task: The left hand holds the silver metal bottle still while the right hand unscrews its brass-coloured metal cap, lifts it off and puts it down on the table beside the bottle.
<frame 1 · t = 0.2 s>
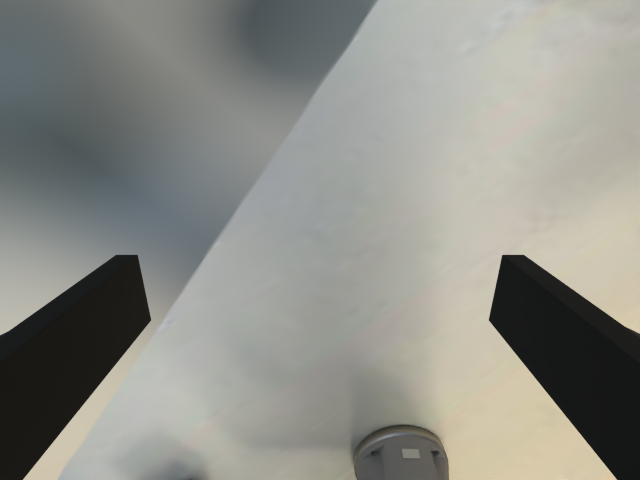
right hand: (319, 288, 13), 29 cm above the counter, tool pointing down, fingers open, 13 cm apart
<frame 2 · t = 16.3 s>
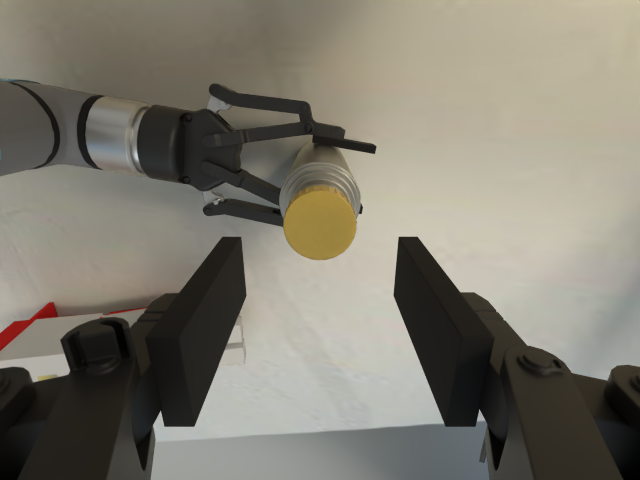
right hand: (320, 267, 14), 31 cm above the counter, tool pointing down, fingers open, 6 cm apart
left hand: (366, 178, 37), fingers closed on bottle, 6 cm apart
bottle: (319, 162, 43), on the counter, touching left hand
cap: (319, 225, 19), point 25 cm above the counter, screwed on, not yet turned
toy: (149, 324, 51), on the counter
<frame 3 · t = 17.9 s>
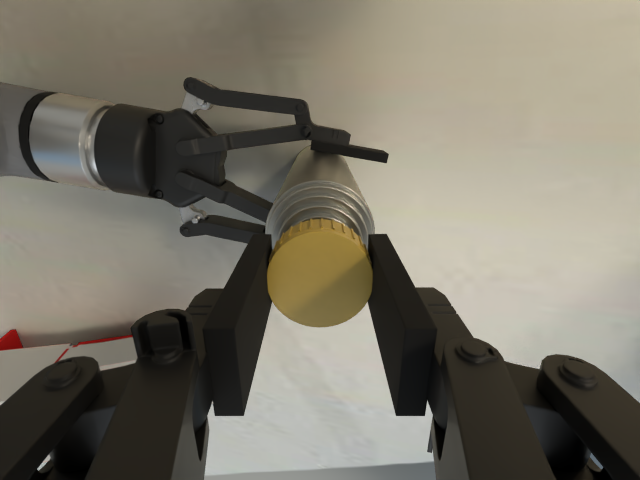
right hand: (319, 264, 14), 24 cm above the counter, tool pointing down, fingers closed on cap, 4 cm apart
left hand: (375, 192, 31), fingers closed on bottle, 6 cm apart
bottle: (320, 171, 37), on the counter, touching left hand
cap: (319, 278, 13), point 25 cm above the counter, screwed on, not yet turned, touching right hand
toy: (126, 353, 45), on the counter
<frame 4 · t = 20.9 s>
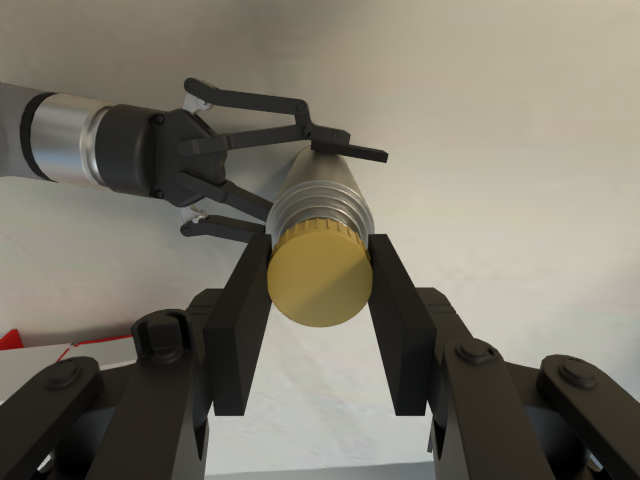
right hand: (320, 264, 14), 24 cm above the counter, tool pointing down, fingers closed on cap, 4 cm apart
left hand: (375, 192, 31), fingers closed on bottle, 6 cm apart
bottle: (320, 171, 37), on the counter, touching left hand
cap: (319, 278, 13), point 25 cm above the counter, turned 77° so far, risen 0.1 cm, still on its thread, touching right hand
toy: (126, 353, 45), on the counter
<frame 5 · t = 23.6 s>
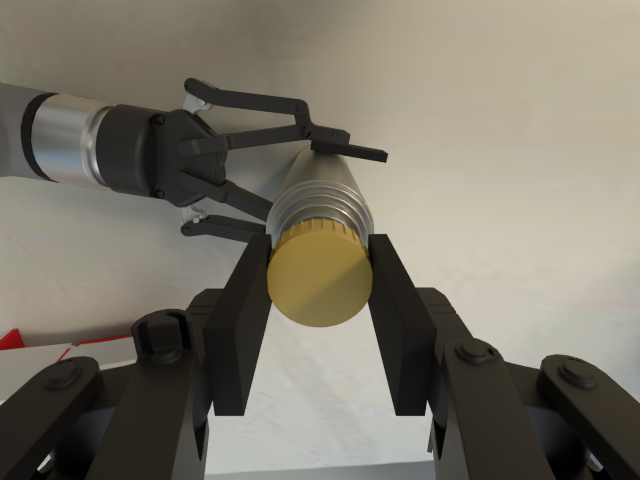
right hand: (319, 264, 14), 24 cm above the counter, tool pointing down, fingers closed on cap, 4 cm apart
left hand: (375, 192, 31), fingers closed on bottle, 6 cm apart
bottle: (319, 170, 37), on the counter, touching left hand
cap: (319, 278, 13), point 25 cm above the counter, turned 154° so far, risen 0.2 cm, still on its thread, touching right hand
toy: (127, 353, 45), on the counter
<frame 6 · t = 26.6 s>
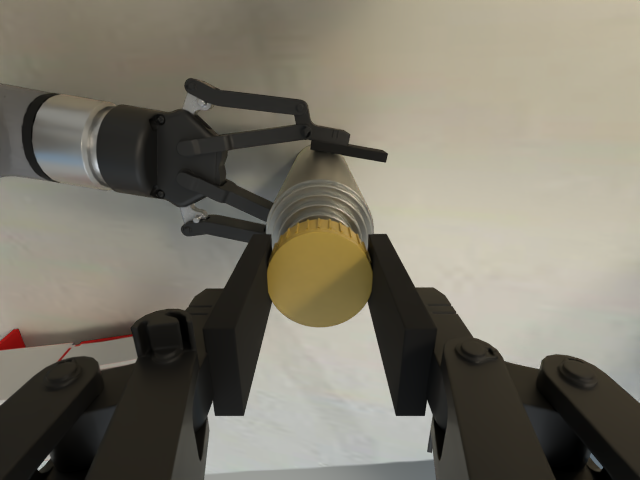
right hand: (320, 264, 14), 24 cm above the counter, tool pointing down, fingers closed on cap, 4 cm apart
left hand: (375, 191, 31), fingers closed on bottle, 6 cm apart
bottle: (319, 170, 37), on the counter, touching left hand
cap: (319, 278, 13), point 25 cm above the counter, turned 231° so far, risen 0.3 cm, still on its thread, touching right hand
toy: (127, 352, 45), on the counter
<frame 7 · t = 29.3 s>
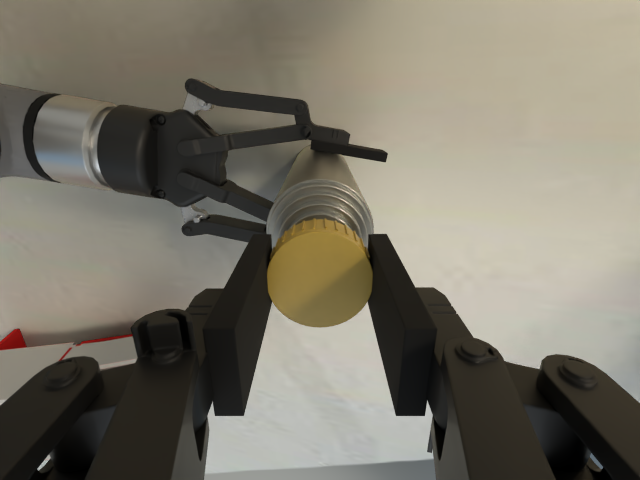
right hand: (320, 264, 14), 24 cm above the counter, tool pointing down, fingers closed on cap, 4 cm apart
left hand: (375, 191, 31), fingers closed on bottle, 6 cm apart
bottle: (320, 170, 37), on the counter, touching left hand
cap: (319, 278, 13), point 25 cm above the counter, turned 308° so far, risen 0.4 cm, still on its thread, touching right hand
toy: (128, 352, 46), on the counter
when the right hand's fingers open (1 cm above the counter, at t = 39.5 s): cap stays where it is, point 1 cm above the counter.
when the left hand's fingers open (6 cm above the counter, at t = 40.7 s): bottle stays where it is, on the counter.
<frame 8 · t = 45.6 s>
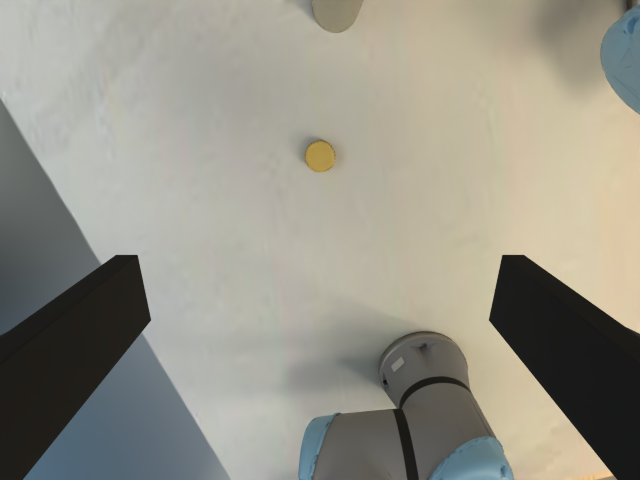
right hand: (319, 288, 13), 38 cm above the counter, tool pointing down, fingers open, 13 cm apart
bottle: (335, 5, 42), on the counter
cap: (320, 157, 47), point 1 cm above the counter, off its thread
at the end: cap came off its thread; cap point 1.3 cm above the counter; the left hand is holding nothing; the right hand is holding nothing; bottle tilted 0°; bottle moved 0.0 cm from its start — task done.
